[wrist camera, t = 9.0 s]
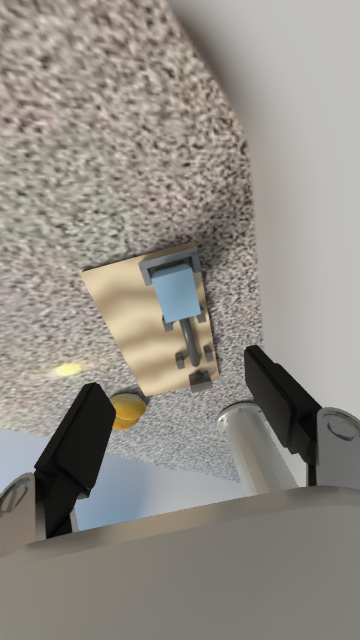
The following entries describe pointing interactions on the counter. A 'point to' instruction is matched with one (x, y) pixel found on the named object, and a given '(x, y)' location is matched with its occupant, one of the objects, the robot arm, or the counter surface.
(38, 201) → the counter surface
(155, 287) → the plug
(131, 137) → the counter surface
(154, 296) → the board
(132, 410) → the bread roll
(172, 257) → the end holder
